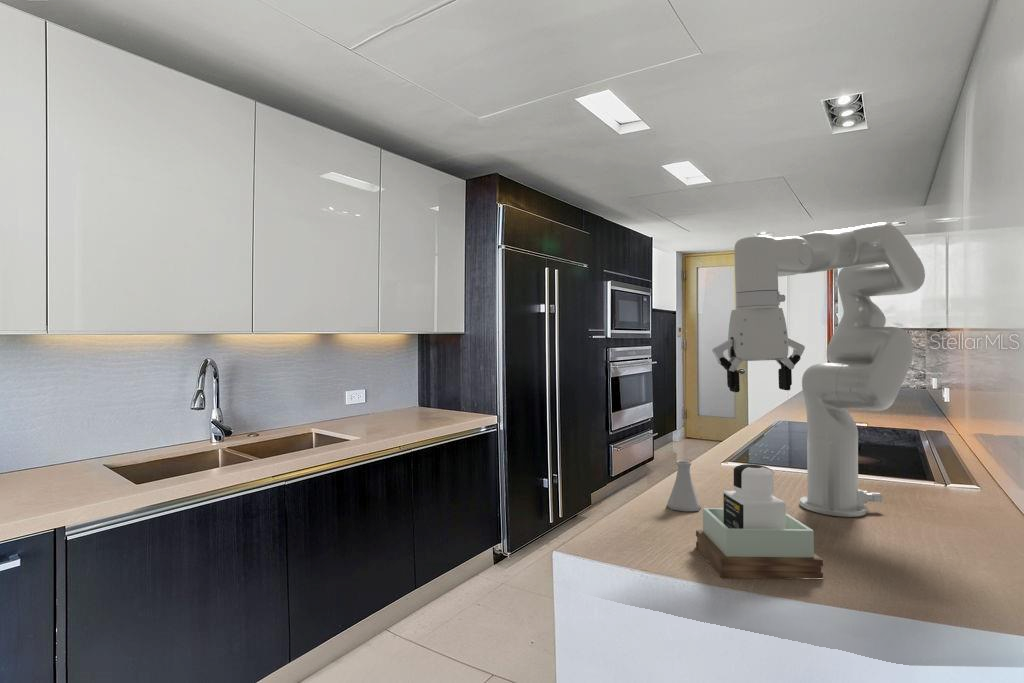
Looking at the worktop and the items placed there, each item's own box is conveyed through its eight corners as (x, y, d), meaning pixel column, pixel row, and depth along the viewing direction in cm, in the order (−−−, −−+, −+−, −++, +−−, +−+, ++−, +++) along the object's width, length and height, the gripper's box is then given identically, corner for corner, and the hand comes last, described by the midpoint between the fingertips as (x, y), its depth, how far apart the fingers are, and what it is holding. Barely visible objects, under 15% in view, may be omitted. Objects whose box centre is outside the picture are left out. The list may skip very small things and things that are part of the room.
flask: (703, 513, 115) (703, 466, 115) (667, 511, 116) (667, 464, 116) (698, 504, 122) (698, 459, 122) (665, 502, 123) (665, 458, 123)
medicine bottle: (722, 532, 93) (722, 461, 93) (763, 531, 93) (763, 461, 93) (742, 548, 85) (742, 471, 86) (786, 547, 86) (786, 471, 86)
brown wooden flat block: (783, 548, 95) (783, 531, 95) (823, 579, 82) (823, 559, 82) (695, 547, 96) (695, 530, 96) (721, 578, 83) (721, 558, 83)
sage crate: (779, 532, 94) (779, 508, 94) (813, 557, 83) (813, 530, 83) (703, 531, 95) (702, 508, 95) (726, 556, 84) (726, 529, 84)
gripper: (791, 301, 108) (794, 387, 109) (705, 304, 108) (707, 390, 109) (812, 298, 101) (815, 391, 101) (719, 302, 101) (722, 394, 101)
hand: (759, 390), depth 105 cm, fingers open, 9 cm apart
